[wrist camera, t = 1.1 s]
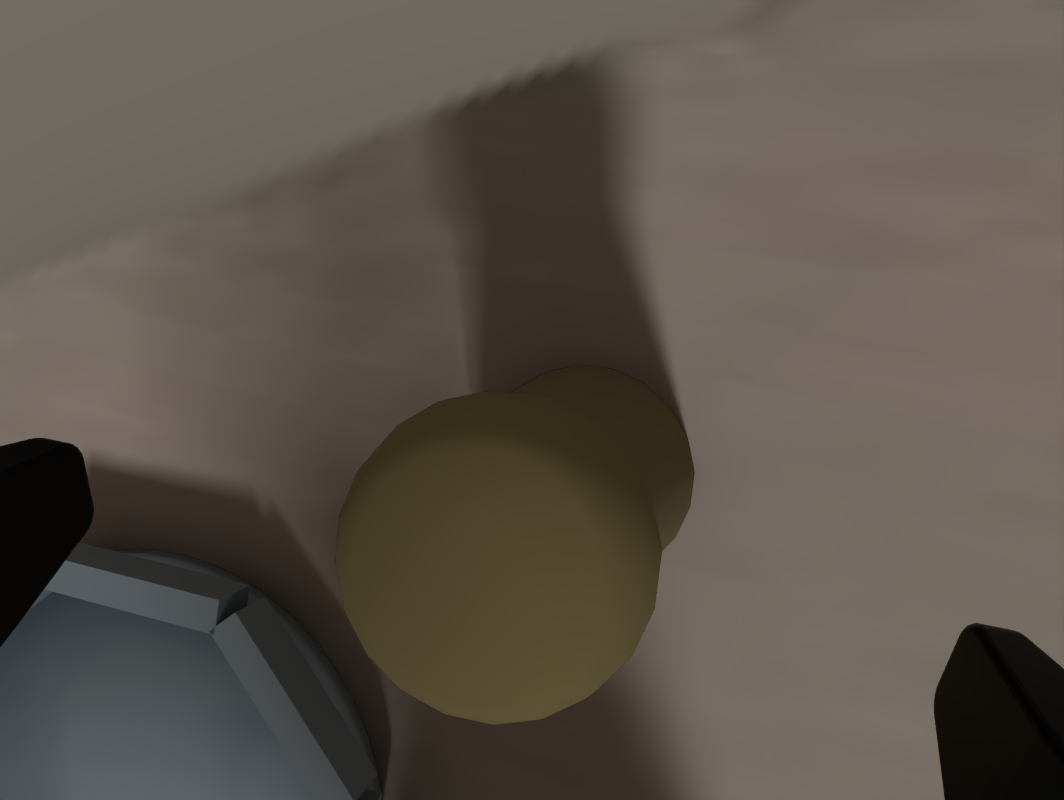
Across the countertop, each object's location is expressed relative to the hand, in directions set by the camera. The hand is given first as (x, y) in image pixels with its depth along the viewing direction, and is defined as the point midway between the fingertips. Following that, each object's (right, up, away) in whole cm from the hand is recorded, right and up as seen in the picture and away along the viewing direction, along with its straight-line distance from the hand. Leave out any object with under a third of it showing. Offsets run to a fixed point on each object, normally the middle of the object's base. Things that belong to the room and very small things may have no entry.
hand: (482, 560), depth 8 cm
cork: (+2, 0, +14) cm, 14 cm away
